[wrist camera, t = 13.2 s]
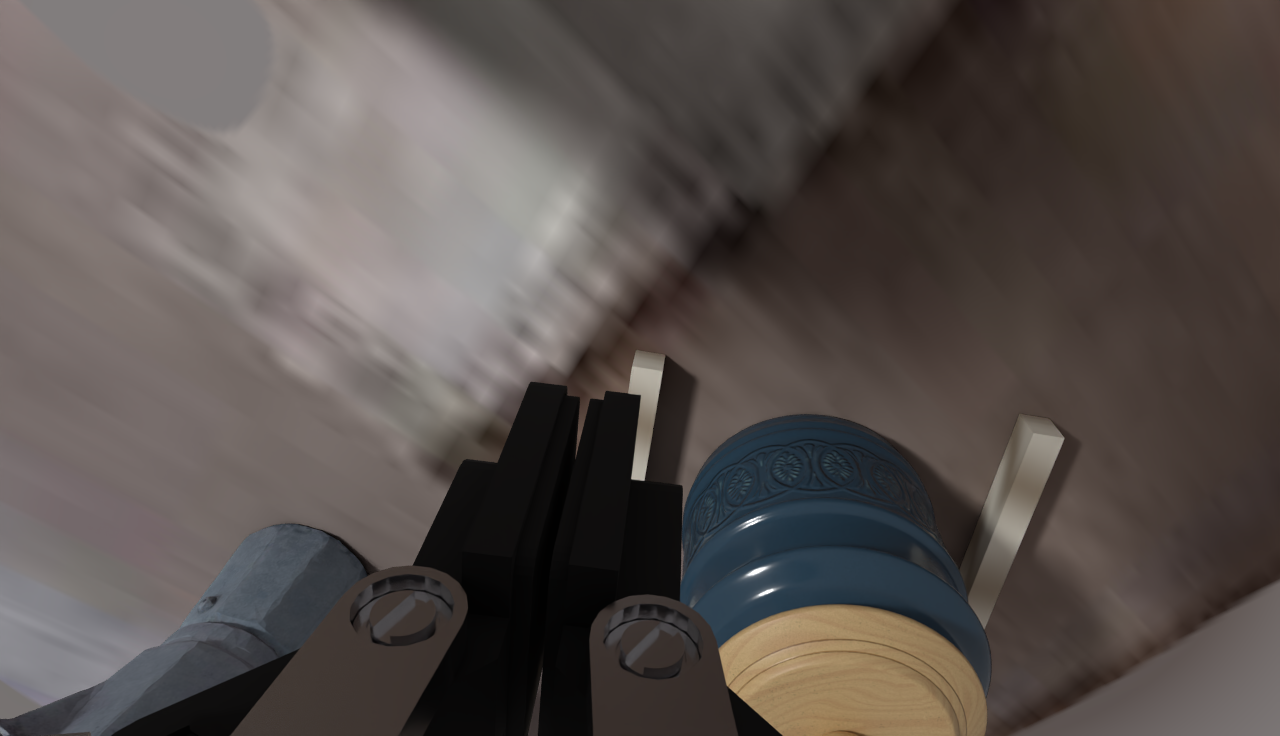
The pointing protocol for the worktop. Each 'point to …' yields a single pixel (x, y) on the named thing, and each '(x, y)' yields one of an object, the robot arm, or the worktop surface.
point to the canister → (832, 585)
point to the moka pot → (216, 632)
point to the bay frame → (1000, 515)
